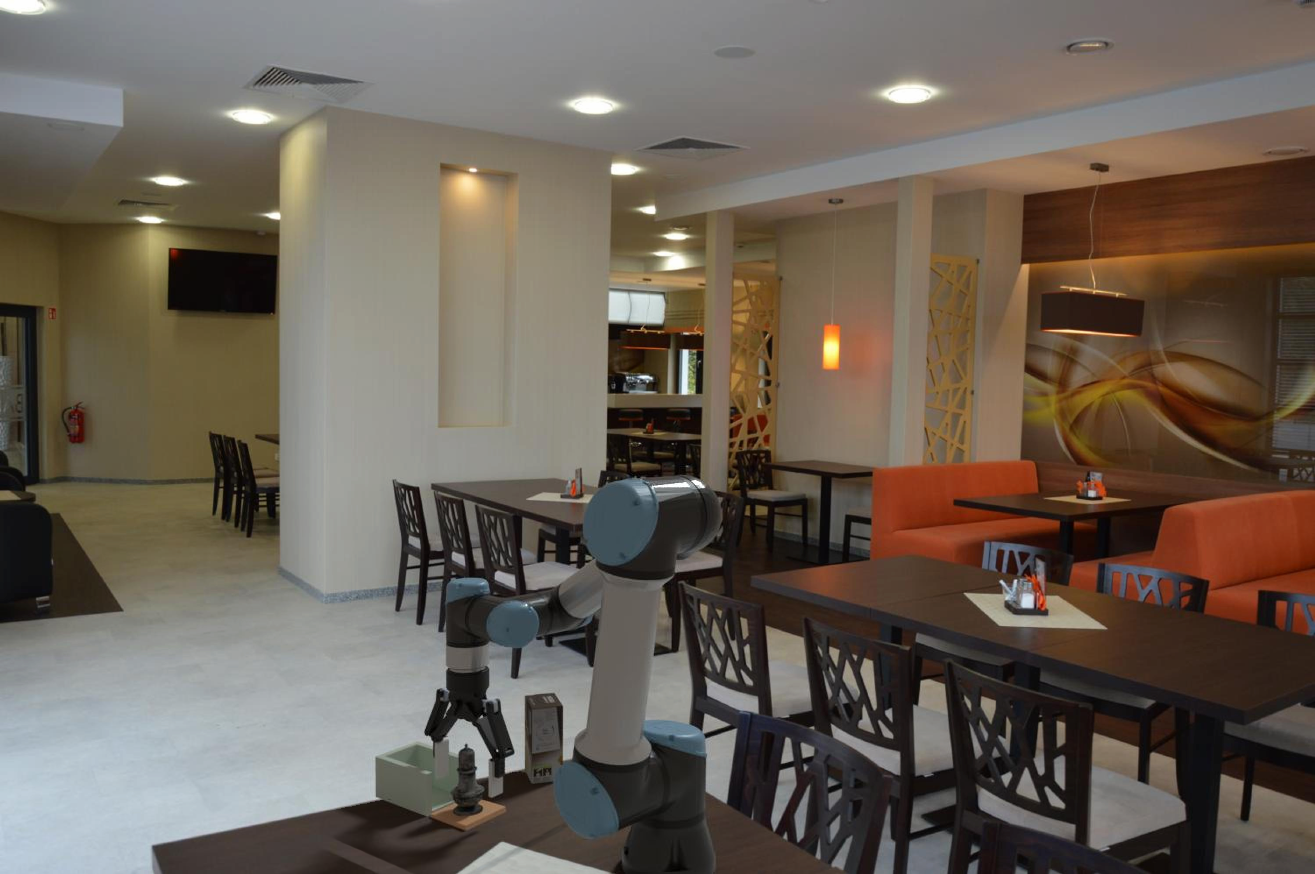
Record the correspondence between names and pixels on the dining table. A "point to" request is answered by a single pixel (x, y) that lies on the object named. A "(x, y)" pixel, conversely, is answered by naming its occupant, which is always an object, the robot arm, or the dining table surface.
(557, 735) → the coffee box
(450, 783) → the crate
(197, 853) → the dining table surface
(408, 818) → the dining table surface
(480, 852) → the dining table surface
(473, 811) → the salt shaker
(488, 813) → the flat tan square board
